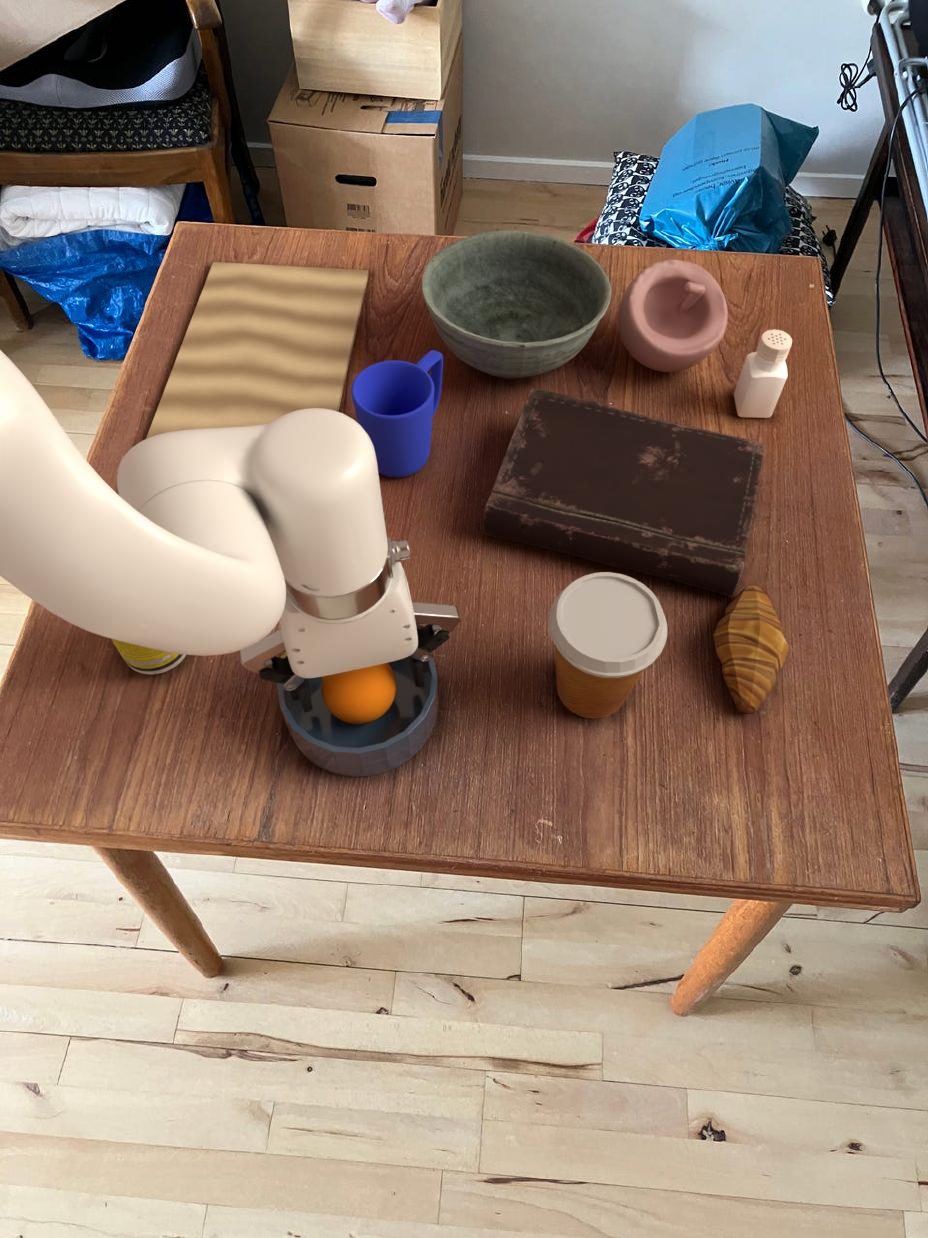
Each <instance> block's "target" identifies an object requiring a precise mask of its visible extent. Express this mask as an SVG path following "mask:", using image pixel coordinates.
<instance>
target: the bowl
mask: <svg viewBox="0 0 928 1238" xmlns="http://www.w3.org/2000/svg"><path fill="white" fill-rule="evenodd" d="M610 282H611V281H610V278H609V277H608V275H607V273H606V271H605V270H604V268H603V267H602V265H601V264H600V263H599V261H597V260H596V259H595V258H594V257H593V256H592V255H591V254H589V253H588V252H586V251H585V250H584V249H582V248H581V247H580V246H576V245H575V244H572V243H570V242H568V241H566V240H564V239H561V238H558V237H555V236H552V235H548V234H544V233H538V232H533V231H532V232H531V231H523V230H522V231H521V230H494V231H492V230H491V231H486V232H480V233H474V234H471V235H468V236H465V237H463V238H461V239H458V240H456V241H453V242H451V243H450V244H447V245H445V246H443V247H442V248H441V249H440V250H438V252H436V253H435V254H434V255H433V256H432V258H431V259H430V260H429V262H428V263H427V264H426V265H425V268H424V272H423V274H422V278H421V294H422V297H423V301H424V302H425V305H426V307H427V309H428V311H429V314H430V318H431V320H432V322H433V324H434V327H435V330H436V331H437V333H438V335H439V336H440V338H441V339H442V341H443V343H444V344H445V346H447V348H448V349H449V350H450V351H451V353H452V354H454V356H455V357H456V358H458V359H459V360H461V362H463V363H465V364H466V365H468V366H470V367H472V368H474V369H475V370H478V371H480V372H483V373H486V374H487V375H489V376H493V377H495V378H500V379H506V380H518V379H520V380H521V379H525V378H528V377H535V376H539V375H542V374H546V373H549V372H550V371H553V370H556V369H558V368H561V367H562V366H564V365H565V364H567V363H568V362H569V361H571V360H572V359H573V358H575V357H576V356H577V355H578V354H579V353H580V352H581V351H582V350H583V349H584V347H585V346H586V345H587V343H588V342H589V340H590V339H591V338H592V336H593V334H594V333H595V331H596V329H597V327H598V325H599V323H600V320H602V319H603V317H604V316H605V314H606V312H607V310H608V308H609V306H610V305H611V298H612V297H611V296H612V287H611V283H610Z"/></svg>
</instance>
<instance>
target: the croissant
mask: <svg viewBox="0 0 928 1238" xmlns="http://www.w3.org/2000/svg"><path fill="white" fill-rule="evenodd" d="M713 640H714V646H715V651H716V655H717V657H718V659H719V660H720V662H721V674H722V676H723V679H724V681H725V684H726V686H727V689H728V691H729V694H730V696H731V699H732V701H733V703H734V706H735V708H736V710H737V712H739V713H741V714H744V715H754V714H755V713H756V712H757V711H758V710H759V708H760V707H761V706H763V704H764V702H765V701H766V700H767V698H768V697H769V695H770V694H771V692H772V691H773V689H774V687H775V686H776V684H777V675H778V673H779V671H781V669H782V668H783V666H784V665H785V661H786V659H787V657H788V653H789V651H790V648H789V647H790V646H789V643H788V641H787V638H786V634H785V632H784V629H783V626H782V622H781V621H780V620H779V617H778V615H777V612H776V611H775V608H774V606H773V604H772V602H771V600H770V598H769V596H768V595H767V594H766V593H765V592H764V590H763V589H762V588H761V587H758V586H756V585H746V586H745V587H744V588H743V589H742V590H741V591H740V592H739V593H738V594H737V596H735V597H734V599H733V600H732V601H731V602H730V603H729V604H728V605H727V607H726V608H725V612H724V616H723V617H722V618H721V619H720V620H719V621H718V623H717V625H716V628H715V631H714V633H713Z"/></svg>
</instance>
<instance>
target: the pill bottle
mask: <svg viewBox="0 0 928 1238" xmlns="http://www.w3.org/2000/svg"><path fill="white" fill-rule="evenodd" d="M110 640H111V641H112V643H113V644H114V646H115V649H117V651H118V652H119V654H120V656H121V658H122V659H123V661H124V662H125V663H126V665H127V666H128V667H129V668H131V669H132V670H133V671H135V672H137V673H139V674H144V675H159V674H164V673H166V672H168V671H171V670H172V669H174V668H176V667H177V666H179V664H180V663H182V662H183V660H184V659H185V657H186V656H187V655H184V654H178V653H170V652H165V651H161V650H156V649H151V648H147V647H143V646H139V645H135V644H131V643H126V642H122V641H118V640H115V639H111V638H110Z"/></svg>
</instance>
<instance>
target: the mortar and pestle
mask: <svg viewBox="0 0 928 1238" xmlns="http://www.w3.org/2000/svg"><path fill="white" fill-rule="evenodd" d="M617 313H618V315H617V326H618V332H619V336H620V338H621V341H622V344H623V345H624V348H625V349H626V351H627V352H628V353H629V354H630V356H631V357H632V358H633V359H634V360H635V361H637V362H638V363H639V364H640V365H642V366H644V367H645V368H648V369H650V370H653V371H655V372H656V371H657V372H662V373H663V372H664V373H676V372H682V371H686V370H688V369H691V368H694V367H695V366H696V365H698V364H700V363H701V362H703V361H705V359H707V358H708V357H709V356H710V355H712V353H713V352H714V350H715V349H716V348H717V347H718V345H719V344H720V342H721V341H722V340H723V338H724V336H725V333H726V330H727V326H728V318H729V313H728V304H727V300H726V297H725V295H724V291H723V290H722V288H721V286H720V284H719V282H717V279H715V277H714V276H713V275H712V274H711V273H710V272H709V271H707V269H705V268H704V267H702V266H700V265H699V264H697V263H694V262H691V261H687V260H679V259H672V258H669V259H663V260H661V261H658V262H657V261H656V262H654V263H652V264H650V265H649V266H647V267H646V268H644V269H643V270H641V271H640V272H639V273H638V274H637V275H635V277H634V278H633V279H632V280H631V282H630V283H629V284H628V286H627V287H626V289H625V290H624V293H623V295H622V297H621V300H620V304H619V308H618V312H617Z"/></svg>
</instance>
